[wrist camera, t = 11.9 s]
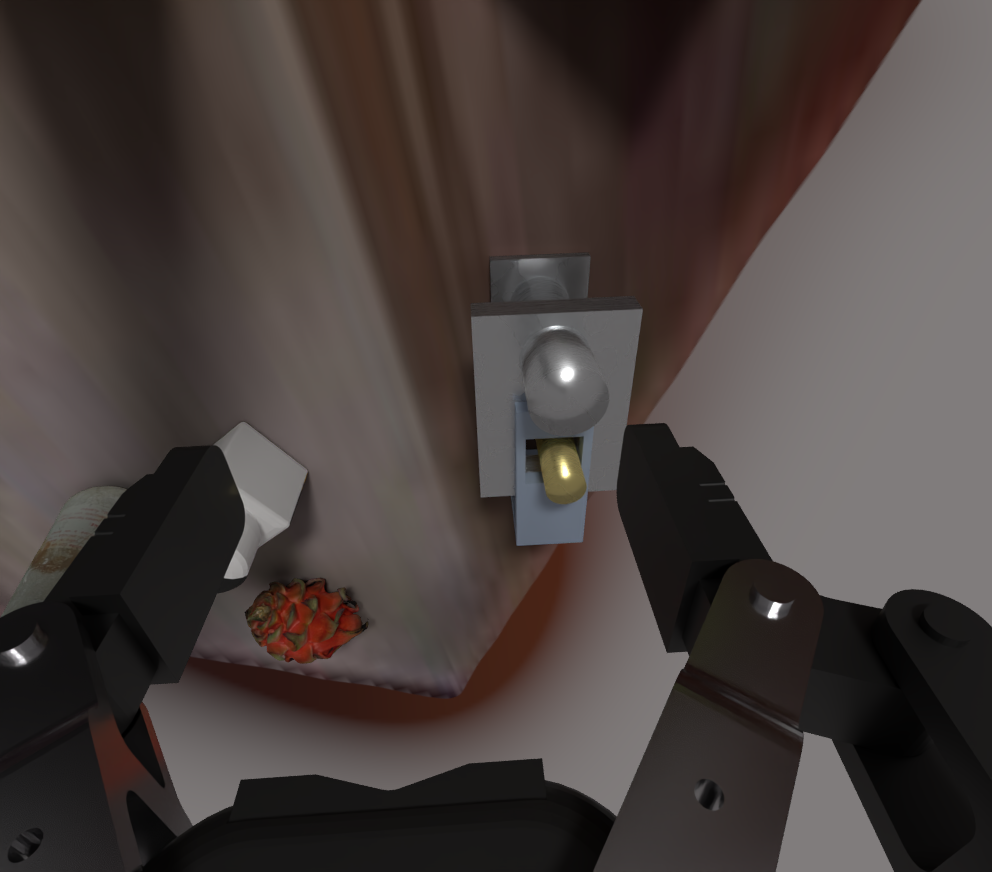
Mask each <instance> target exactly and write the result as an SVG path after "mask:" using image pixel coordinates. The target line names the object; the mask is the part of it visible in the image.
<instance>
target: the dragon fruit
mask: <svg viewBox="0 0 992 872" xmlns="http://www.w3.org/2000/svg"><path fill="white" fill-rule="evenodd" d="M317 581H318V582H317ZM313 582H317V583H315V584H314V585H312V586H308V585H310V584H312V583H313ZM269 585H270V589H269V591H263V592H261V593H260V594H259V595H258V596H257V598H256V599H255V601H254V603H253V605H252V606H251V607H250V608H249V609H248V610H247V611H246V612H245V615H246V619H247V623H248V626H249V627H250V628H251V632H252V635H253V637H254V638H255V640H256V642H257V643H258V644H259V645H260V646H261V647H263V646H267V652H268V653H269V654H270V655H272V656H273V657H274V658H275V659H277V660H279V661H281V660H285V661H286V662H290V661H292V660H294V659H295V660H296V661H297V662H298V663H302V664H304V663H311V662H313V661H314V660H316V659H328V658H330V657H331V656H332V654H333V653H334V652H335V651H336V650H337V649H338V648H339V647H341V646H342V645H343V644H345V643H347V642H348V641H350V640H351V639H352V638H353V637H355V636H357V635H358V634H360V633H361V632H362V631H364V630H365V629H367V627H368V622H366V623H365V624H364V625H362V622H361V617H360V616H359V615H357V614H353V613H356V612H358V611H359V607H358V605H357V603H356V602H355V601H353V600H352V599H351V597H349V596H347V595H345V594H346V592H345V590H346V588H345V587H344V588H340V589H338V592H334V593H327V592H326V591H325V589H324V585H325V579H323V578H317V579H310V580H308V582H306V583H304V582H303V581H302V580H300V579H296V578H294V579H293V580H292V582H291V583H290V584H289V585H287V586H286V587H285V586H284V585H283V584H281V583H279V582H272V583H270V584H269ZM306 586H308V587H306ZM351 600H352V601H351ZM343 601H347V602H349V603H351V604H353V605H354V606H355V608H352V607H349V606H347V603H344V602H343ZM367 619H368V618H367Z"/></svg>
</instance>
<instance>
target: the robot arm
mask: <svg viewBox="0 0 992 872" xmlns="http://www.w3.org/2000/svg"><path fill="white" fill-rule="evenodd" d="M617 503H618V509H619V512H620V516H621V519H622V522H623V525H624V528H625V530H626V534H627V537H628V540H629V543H630V546H631V548H632V551H633V554H634V557H635V560H636V563H637V566H638V569H639V572H640V575H641V578H642V581H643V584H644V587H645V590H646V592H647V596H648V598H649V601H650V604H651V607H652V610H653V613H654V616H655V619H656V622H657V625H658V628H659V631H660V634H661V637H662V640H663V643H664V645H665V648H666V651H667V653H672V652H688V654H689V659H688V661H687V663H686V665H685V667H684V669H682V670H681V671H680V673H679V675H678V677H677V679H676V682H675V684H674V686H673V689H672V691H671V693H670V695H669V698H668V700H667V702H666V705H665V707H664V709H663V711H662V714H661V716H660V718H659V721H658V723H657V725H656V728H655V730H654V732H653V735H652V737H651V739H650V741H649V744H648V746H647V748H646V751H645V753H644V755H643V758H642V760H641V762H640V765H639V767H638V769H637V772H636V774H635V776H634V778H633V781H632V783H631V785H630V788H629V790H628V792H627V795H626V797H625V799H624V802H623V804H622V806H621V808H620V811H619V813H618V816H617V817H616V816H615V815H614V814H613V813H612V812H611V811H610V810H608V809H606V808H605V807H604V806H602V805H601V804H600V803H598V802H597V801H595V800H594V799H592V798H590V797H588V796H587V795H584V794H583V793H581V792H579V791H577V790H575V789H572V788H569V787H567V786H564V785H562V784H559V783H555V782H550V781H546V780H545V779H544V772H543V762H542V758H541V759H527V760H513V761H501V762H500V761H499V762H485V763H471V764H467V765H464V766H461V767H458V768H455V769H453V770H450V771H447V772H445V773H442V774H439V775H436V776H433V777H431V778H427V779H425V780H422V781H419V782H416V783H414V784H411V785H408V786H405V787H402V788H400V789H396V790H389V791H388V790H381V789H377V788H372V787H368V786H364V785H359V784H355V783H351V782H346V781H342V780H338V779H333V778H329V777H324V776H320V775H303V776H288V777H274V778H261V779H247V780H241V781H240V784H239V788H238V791H237V795H236V798H235V802H234V805H233V806H231V807H228V808H226V809H224V810H222V811H219V812H217V813H215V814H213V815H211V816H209V817H207V818H206V819H204V820H202V821H201V822H199V823H197V824H196V825H194V826H192V824H191V822H190V820H189V818H188V817H187V815H186V813H185V812H184V809H183V808H182V806H181V804H180V801H179V799H178V797H177V794H176V791H175V789H174V786H173V783H172V780H171V777H170V774H169V771H168V769H167V765H166V762H165V759H164V757H163V754H162V751H161V748H160V745H159V742H158V739H157V736H156V733H155V730H154V728H153V725H152V721H151V719H150V716H149V713H148V710H147V708H146V706H145V705H144V703H143V702H142V700H143V698H144V696H145V694H146V692H147V690H148V688H149V685H151V684H164V683H165V684H166V683H178V682H179V680H180V678H181V675H182V673H183V671H184V668H185V666H186V664H187V662H188V659H189V657H190V655H191V652H192V650H193V648H194V645H195V643H196V641H197V638H198V636H199V634H200V631H201V629H202V627H203V625H204V622H205V620H206V618H207V615H208V613H209V611H210V608H211V606H212V604H213V601H214V599H215V597H216V594H217V592H218V590H219V587H220V585H221V583H222V581H223V578H224V576H225V574H226V571H227V569H228V567H229V564H230V562H231V560H232V557H233V555H234V553H235V550H236V548H237V546H238V543H239V541H240V539H241V537H242V534H243V531H244V526H245V509H244V504H243V501H242V499H241V496H240V493H239V491H238V488H237V486H236V483H235V481H234V478H233V476H232V473H231V471H230V468H229V466H228V463H227V461H226V458H225V456H224V453H223V452H222V450H221V449H220V448H219V447H218V446H216V445H211V446H191V447H175V448H173V449H172V450H170V452H169V453H168V454H167V456H166V457H165V459H164V460H163V462H162V463H161V464H160V466H159V467H158V469H157V470H156V472H155V473H154V474H148V475H146V476H144V477H143V478H142V479H140V480H139V481H138V482H137V483H135V484H134V485H133V486H131V487H130V488H129V489H127V490H126V491H125V492H124V493H122V495H121V496H120V497H119V499H118V500H117V501H116V503H115V504H114V506H113V507H112V508H111V510H110V511H109V512H108V514H107V516H108V517H107V518H104V519H103V521H102V522H101V523H100V525H99V526H98V527H97V529H96V530H95V531H94V532H95V535H94V536H91V537H90V538H89V540H88V541H87V542H86V544H85V545H84V547H83V548H82V549H81V551H80V552H79V553H78V555H77V556H76V557H75V559H74V560H73V562H72V563H71V564H70V566H69V567H68V568H67V570H66V571H65V572H64V574H63V575H62V577H61V578H60V579H59V581H58V582H57V583H56V585H55V586H54V587H53V589H52V590H51V592H50V593H49V594H48V596H47V597H46V598H45V600H44V601H43V602H39V603H35V604H31V605H27V606H24V607H22V608H19V609H17V610H14V611H12V612H10V613H8V614H6V615H4V616H3V617H1V618H0V872H776V868H777V863H778V859H779V854H780V849H781V845H782V840H783V836H784V831H785V826H786V821H787V817H788V813H789V808H790V804H791V799H792V794H793V790H794V785H795V781H796V776H797V772H798V767H799V762H800V757H801V752H802V747H803V739H804V734H803V731H804V732H808V733H811V734H815V735H819V736H823V737H827V738H831V739H832V741H833V743H834V745H835V747H836V749H837V752H838V754H839V756H840V758H841V760H842V762H843V764H844V766H845V769H846V771H847V772H848V775H849V777H850V779H851V781H852V783H853V785H854V788H855V790H856V791H857V794H858V796H859V798H860V800H861V802H862V805H863V807H864V809H865V811H866V813H867V815H868V817H869V819H870V821H871V824H872V826H873V828H874V830H875V832H876V834H877V836H878V838H879V840H880V843H881V845H882V847H883V849H884V851H885V853H886V855H887V857H888V859H889V862H890V864H891V866H892V868H893V870H894V872H992V627H991V626H990V625H989V624H988V623H987V622H986V621H985V620H984V619H983V618H982V617H980V616H979V615H978V614H977V613H975V612H974V611H972V610H971V609H970V608H968V607H966V606H965V605H963V604H961V603H959V602H957V601H955V600H953V599H951V598H949V597H946V596H944V595H941V594H938V593H934V592H931V591H925V590H914V589H911V590H903V591H900V592H897V593H895V594H893V595H892V596H891V597H890V598H889V599H888V601H887V603H886V604H885V606H884V607H883V609H880V608H874V607H869V606H865V605H859V604H855V603H850V602H845V601H840V600H835V599H831V598H827V597H824V596H821V595H819V594H818V592H817V591H816V589H815V588H814V587H813V586H812V584H811V583H810V582H809V581H808V580H807V579H806V578H804V577H803V576H802V575H800V574H799V573H798V572H796V571H794V570H793V569H791V568H789V567H787V566H784V565H782V564H779V563H776V562H773V561H772V559H771V557H770V556H769V554H768V552H767V551H766V549H765V547H764V546H763V544H762V542H761V541H760V539H759V537H758V536H757V534H756V533H755V531H754V529H753V527H752V526H751V524H750V523H749V521H748V519H747V517H746V516H745V514H744V512H743V511H742V509H741V507H740V506H739V504H738V502H737V501H735V500H734V496H733V494H732V492H731V491H730V489H729V488H728V486H727V485H725V481H724V479H723V477H722V476H721V474H720V473H719V471H718V469H717V468H716V466H715V464H714V463H713V462H712V461H711V460H710V459H708V458H707V457H706V456H704V455H703V454H702V453H701V452H699V451H698V450H697V449H696V448H694V447H679V445H678V444H677V442H676V440H675V438H674V436H673V434H672V432H671V431H670V429H669V427H668V426H667V424H665V423H658V424H637V425H627V426H626V428H625V431H624V436H623V443H622V450H621V457H620V464H619V471H618V479H617Z"/></svg>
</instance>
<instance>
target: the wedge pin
mask: <svg viewBox="0 0 992 872" xmlns="http://www.w3.org/2000/svg"><path fill="white" fill-rule="evenodd" d="M535 440H536V445H537V450H538V455H539V460H540V466H541V471H542V476H543V481H544V486H545V491H546V495H547V497H548V498H549V499H550V500H551V501H552V502H554V503H557V504H570V503H573V502H576V501H578V500H579V499H580V498H582V497H583V495H584V494H585V492H586V489H587V485H586V481H585V477H584V474H583V470H582V467H581V464H580V460H579V457H578V453H577V450H576V446H575V443H574V439H573V437H562V438H543V439H535Z"/></svg>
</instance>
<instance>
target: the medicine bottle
mask: <svg viewBox="0 0 992 872" xmlns="http://www.w3.org/2000/svg"><path fill="white" fill-rule="evenodd" d="M214 445H216V446H218V447H219V448H220V449H221V450H222V452H223V453H224V456H225V458H226V461H227V463H228V466H229V468H230V471H231V473H232V476H233V478H234V481H235V483H236V486H237V488H238V491H239V493H240V496H241V499H242V501H243V504H244V509H245V526H244V531H243V534H242V537H241V539H240V541H239V543H238V546H237V548H236V550H235V553H234V555H233V557H232V560H231V562H230V564H229V567H228V569H227V571H226V574H225V576H224V578H223V581H222V583H221V585H220V587H219V590H218V592H217V593H222V592H226V591H229V590H231V589H234V588H236V587H238V586H239V585H241V584H242V583H243V582H244V581H245V579H246V577H247V575H248V572H249V570H250V567H251V565H252V562H253V560H254V557H255V554H256V552H257V549H258V548H259V547H260V546H262V545H263V544H265V543H266V542H268V541H269V540H271V539H272V538H274V537H275V536H276V535H278V534H279V533H281V532H282V531H284V530H285V529H287V528H288V527H289V526H290V523H291V520H292V518H293V515H294V512H295V509H296V506H297V503H298V500H299V497H300V494H301V491H302V488H303V486H304V483H305V480H306V477H307V474H308V470H307V469H306V468H305V467H303V466H302V465H301V464H299V463H298V462H297V461H295V460H294V459H293V458H292V457H290V456H289V455H288V454H286V453H285V452H284V451H282V450H281V449H280V448H279V447H277V446H276V445H275V444H273V443H272V442H271V441H269V440H268V439H267V438H266V437H264V436H263V435H262V434H260V433H259V432H258V431H256V430H255V429H254V428H253V427H251V426H250V425H249V424H247V423H246V422H241V423H239V424H238V425H237V426H236V427H235V428H233V429H232V430H231V431H230V432H228V433H227V434H226V435H225V436H223V437H222V438H221V439H220V440H218V441H217V442H216V443H215V444H214Z"/></svg>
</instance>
